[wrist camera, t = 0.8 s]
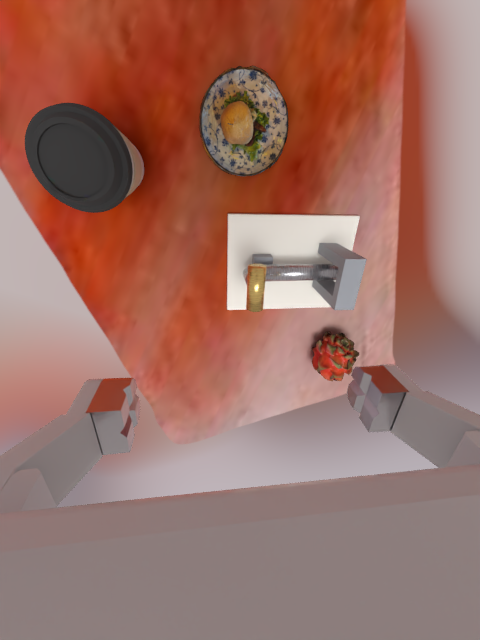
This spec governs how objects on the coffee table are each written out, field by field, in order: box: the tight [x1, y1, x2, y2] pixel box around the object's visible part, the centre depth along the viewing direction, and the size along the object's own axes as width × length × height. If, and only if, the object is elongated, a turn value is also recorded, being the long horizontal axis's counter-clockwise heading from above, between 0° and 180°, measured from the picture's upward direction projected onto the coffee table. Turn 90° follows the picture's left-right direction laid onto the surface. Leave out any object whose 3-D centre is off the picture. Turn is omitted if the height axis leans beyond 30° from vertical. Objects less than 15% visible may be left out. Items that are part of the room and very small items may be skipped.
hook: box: [243, 263, 338, 312], centre depth 41 cm, size 19×6×10 cm, turn 88°
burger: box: [199, 66, 288, 176], centre depth 34 cm, size 12×12×8 cm
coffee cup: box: [25, 103, 144, 213], centre depth 31 cm, size 9×9×15 cm
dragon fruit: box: [312, 332, 359, 381], centre depth 54 cm, size 8×8×12 cm
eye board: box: [227, 213, 366, 310], centre depth 42 cm, size 21×16×10 cm
